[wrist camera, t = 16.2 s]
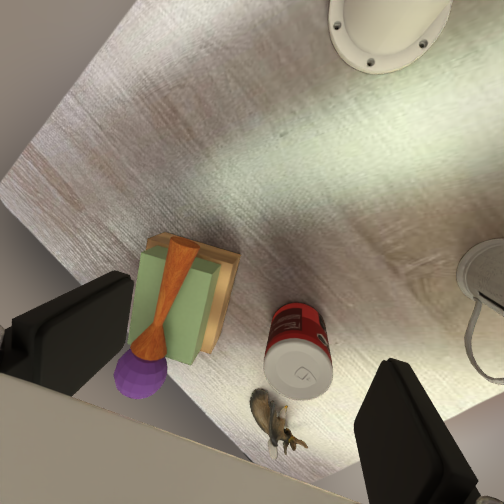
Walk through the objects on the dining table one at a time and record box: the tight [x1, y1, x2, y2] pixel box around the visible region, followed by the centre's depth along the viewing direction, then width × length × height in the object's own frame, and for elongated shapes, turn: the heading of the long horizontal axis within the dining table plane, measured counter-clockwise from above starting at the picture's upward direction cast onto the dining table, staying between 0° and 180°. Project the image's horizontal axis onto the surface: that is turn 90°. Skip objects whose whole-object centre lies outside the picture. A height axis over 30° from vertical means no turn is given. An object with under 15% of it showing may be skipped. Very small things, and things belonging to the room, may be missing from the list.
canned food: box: [264, 303, 333, 401], centre depth 37 cm, size 8×8×11 cm
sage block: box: [128, 245, 221, 365], centre depth 37 cm, size 13×9×4 cm
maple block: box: [146, 232, 241, 354], centre depth 41 cm, size 14×12×5 cm
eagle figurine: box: [250, 389, 308, 459], centre depth 44 cm, size 8×7×9 cm
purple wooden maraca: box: [114, 236, 200, 399], centre depth 33 cm, size 6×6×20 cm
